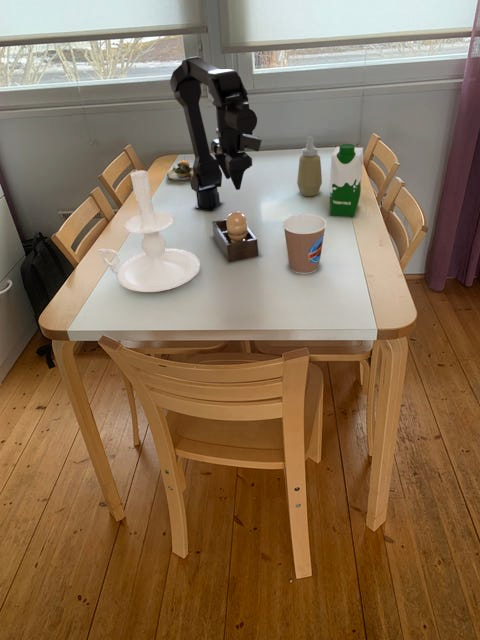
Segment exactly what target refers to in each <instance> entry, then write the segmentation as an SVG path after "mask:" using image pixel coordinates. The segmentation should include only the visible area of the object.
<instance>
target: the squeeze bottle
mask: <svg viewBox="0 0 480 640" xmlns="http://www.w3.org/2000/svg"><path fill="white" fill-rule="evenodd" d="M298 162H299V163H298V171H297V179H296V181H297V182H296V184H297V187H298V191H299V193H300V194H301V195H302V196H304V197H314V196H317V195H318V194H319V192H320V189H321V187H322V184H323V178H322V177H323V175H322V162H321V156H320V155H319V154H318V148H317V147H315V145H314V139H313V136H308V137H307V142H306V145H305V147H303V148H302V155H300V156H299V161H298Z"/></svg>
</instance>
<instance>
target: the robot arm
mask: <svg viewBox="0 0 480 640" xmlns="http://www.w3.org/2000/svg"><path fill="white" fill-rule="evenodd" d="M170 76H171V77H170V80H169V86H170V89H171V91H172V92H173V96H174V98H175V101H177V102H178V103H179V105H180V106H181V107H182V108H183V113H184V116H185V121H186V125H187V130H188V133H189V138H190V141H191V145H192V150H193V154H194V160H193V165H192V168H193V176H192V178H190V181H189V184H190V188H191V190H193V191H194V192H195V196H196V202H197V205H196V206H195V207H194V208H195V209H196V210H203V211H209V212H213V211H214V210H215V209H217V208H218V207H220V206H221V205H222V201H220V192H219V191H218V188H221V187H222V183H223V175H224V178H225V179H226V180H229V179H231V182H232V184H233V186H234V188H235V191H239V190H241V186H242V183H243V178H244V174H245V172H246V171H247V169H250V168H251V167H252V166H253V158H252V157H251V156H250V155H249V154H248V153H247V152H246V149H247V150H253V151H254V152H259V151H260V149H261V144H262V141H263V139H262V138H261V137H259V136H258V135H256V134H254V133H253V131H254V130H256V127H257V125H258V117H257V114H256V113H255V111H254V110H253V109H251V108H250V103H248V102H249V97H248V95H249V94H248V92H247V89H246V87H245V85H244V83H243V81H242V78H241V76H240V74H239V73H238V71H237V70H235V69H230V68H229V69H228V68H226V69H225V68H224V69H222V68H221V69H220V68H218V67H216V66H214V65H212V64H211V63H209V62H207V61H206V60H204V59H203V58H202V57H201V56H191V57H186V58H184V59H182V61H181V63H180V65H178V67H176V69H174V70H173V72H172V74H171V75H170ZM203 84H204V85H205V86H207V89H208V90H207V92H208V93H209V94H210V96H211V97H212V99H213V101H212V105H213V106H215V116H216V117H215V118H216V126H217V128H215V134H216V135H217V138H215V139H213V140H211V142H210V146H209V141H208V137H207V133H206V129H205V124H204V120H203V115H202V111H201V107H200V101H201V97H202V94H203V91H202V85H203ZM210 149H211V150H210ZM211 152H212V153H211Z"/></svg>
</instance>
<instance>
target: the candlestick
mask: <svg viewBox="0 0 480 640" xmlns="http://www.w3.org/2000/svg"><path fill="white" fill-rule="evenodd" d="M129 175H130V179H131V184H132V190H133V192H134V197H135V202H137V204H138V209H139V213H140V214H137V215H134V216H132V217H130V218H128V220H127V221H125V222H124V229H125V230H126V231H127V232H129V233H132V234H141V235H143V234H144V235H143V238H142V241H141V248H142V251H143V252H142V253H138V254H137V255H134V256H132V257H130V258H129V259H128V260H126V261H125V262H124V263H123V264H121V266H120V267H119V268H118V269H116V267H117V266H118V265H119V264H120V263H121V256H120V254H119V253H118V251H116V250H114V249H111V248H107V249H105V248H102V247H101V248H98V249H97V251H98V252H100V253H101V260H102V262H103V263H104V264H105V265H107V266H108V267H109V268H110V270H111V271H112V273H115V274H116V280H117V282H118V283H119V285H120V286H122V287H123V288H125V289H127V290H130V291H133V292H139V293H158V292H165V291H168V290H171V289H175V288H177V287H180V286H182V285H185V284H186V283H188V282H189V281H191V280H193V279H194V278H195V277H196V275H197V274H198V273H199V271H200V269H201V261H200V259H199V257H197V256H196V255H195V253H193V252H190V251H188V250H184V249H181V248H166V247H167V242H166V239H165V238H164V237H163V235H162V234H161V233H160V231H163V230H165V229H167V228H169V227H170V226H172V224H173V223H174V222H175V218H174V216H173V215H172V214H170V213H168V212H164V211H155V209H154V206H153V205H154V204H153V201H152V194H151V190H152V187H151V183H150V179H149V173H148V171H147V170H143V169H141V170H137V169H135V171H132V172H131V173H130V174H129ZM107 254H113V256H115V257H116V262H110V261H109V260H107V258H106V255H107Z"/></svg>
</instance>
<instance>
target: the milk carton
mask: <svg viewBox="0 0 480 640" xmlns="http://www.w3.org/2000/svg"><path fill="white" fill-rule="evenodd" d="M363 165H364V147H356V146H355V145H354V144H351V143H342V144H340V145H339V146H336V147H335V149H334V150H333V152H332V154H331V160H330V173H329V215H330V216H335V217H348V218H349V217H350V218H353V217H355V214H356V212H357V209H358V205H359V203H360V202H359V201H360V198H361V192H362V181H363Z"/></svg>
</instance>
